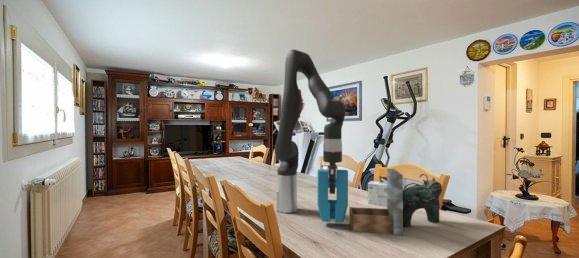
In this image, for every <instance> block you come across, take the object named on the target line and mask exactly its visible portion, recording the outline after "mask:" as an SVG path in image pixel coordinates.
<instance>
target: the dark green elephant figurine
mask: <svg viewBox="0 0 579 258" xmlns="http://www.w3.org/2000/svg"><path fill="white" fill-rule="evenodd" d="M422 176H425V177H426V180H425V179H422V181H423V183H422V184H418V183H415V182H412V183H408V184H407V185H405V186H403V228H409V227H411V226H412V224H411V223H412V217H413V215H414V213H415V212H416V211H417V210H420V209H424V211H425V214H426V217H427V221H428V222H430V223H432V224H435V223H439V222H440V207H441V204H440V196H441V194H442V192H443V187H442V184H441V183H440V182H439V181H437V179H435V177H432V178H431V180H429V179H428V178H429V177H428V176H427V174H425V173H421V174H420V175H419V178H422ZM408 186H409V187H408Z"/></svg>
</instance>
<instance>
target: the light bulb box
mask: <svg viewBox="0 0 579 258" xmlns="http://www.w3.org/2000/svg"><path fill="white" fill-rule="evenodd" d="M367 204H369V205H376V206H382V207H383V206H384V207H387V182H384V181H383V182H382V181H373V180H370V181H369V182H368V183H367Z"/></svg>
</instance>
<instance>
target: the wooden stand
mask: <svg viewBox="0 0 579 258" xmlns="http://www.w3.org/2000/svg"><path fill="white" fill-rule="evenodd" d="M403 179H404V178H403V174H402V173H400V172H399V171H398V170H396V169H395V168H386V183H387V206H386V208H378V207H377V208H376V207H375V208H374V207H353V206H348V207H349V209H348V210H349V211H348V214H349V217H348V218H349V231H352V232H367V233H368V232H369V233H384V234H385V233H387V234H393V236H401V237H403V236H404V227H403V189H404V186H403V185H404V184H403V183H404V182H403V181H404V180H403Z"/></svg>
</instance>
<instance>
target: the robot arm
mask: <svg viewBox="0 0 579 258" xmlns="http://www.w3.org/2000/svg"><path fill="white" fill-rule="evenodd" d="M298 73H301V74H303V75H304V76H305V77H306V79H307V86H308V90H309V92H310V93H311V95H312V96H313V98H314V99H315V101H316V105H317V108H318V111H319V112H320V114H321V115H322V116H323V117H324V118H327V119H330V122H329V123H327V124H325V125H324V127H323V143H322V148H323V151H322V152H323V154H322V156H323V157H322V158H323V159H322V160H323V162H324V163H328V164H329V165H327V168H326V169H327V170H328V171H329V173H328V178H329V188H328V194H330V195H334V194H336V187H335V183H336V182H335V179H336V178H337V170H339V169H338V165H337V164H336V163H342V161H343V139H342V138H343V137H342V135H343V134H342V133H343V132H342V129H343V125H344V121H345V119H346V118H345V117H346V110H347V109H346V106H345V104H344V102H342V101H340V100H332V99H331V98H332V92H331V90H330V89H329V87H328V86H327V84H326V83H325V82H324V80H323V79H322V78H321V75H320V74H319V71H318V70H317V68H316V65H315V64H314V62H313V60H312V58H311V55H309V54H308V53H306V52H304V51H301V50H298V49H293V48H292V49H290V50H289V51H288V52H287V54H286V58H285V63H284V84H283V94H282V100H281V107H280V108H281V109H280V118H279V126H278V132H277V136H276V140H275V144H274V155H275V157H276V159H278V161H280V165H279V166H278V167H277V174H276V175H277V190H276V212H280V213H284V214H291V213H292V214H293V213H296V212H297V211H298V185H297V184H298V181H297V179H298V176H297V175H298V167H299V154H300V153H299V146H298V144H297V143H296V142H295V141H293V140H292V139H293V134H294V130H295V127H297V126H296V125H297V124H298V121H299V119H300V116H301V113H302V111H301V110H302V104H303V100H302V99H303V98H302V95H301V92H300V90H299V85H298V81H297V80H298V79H297V77H298ZM331 178H334V181H333V180H330V179H331Z"/></svg>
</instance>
